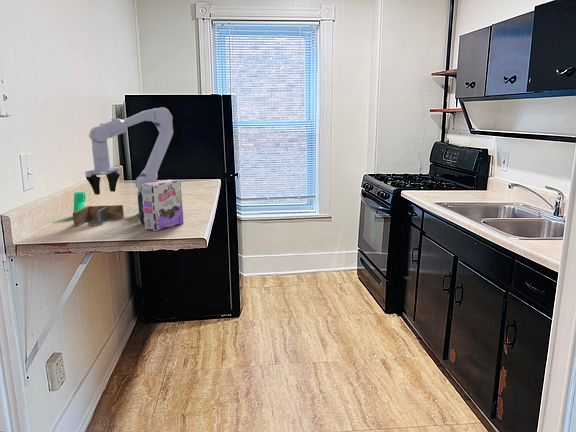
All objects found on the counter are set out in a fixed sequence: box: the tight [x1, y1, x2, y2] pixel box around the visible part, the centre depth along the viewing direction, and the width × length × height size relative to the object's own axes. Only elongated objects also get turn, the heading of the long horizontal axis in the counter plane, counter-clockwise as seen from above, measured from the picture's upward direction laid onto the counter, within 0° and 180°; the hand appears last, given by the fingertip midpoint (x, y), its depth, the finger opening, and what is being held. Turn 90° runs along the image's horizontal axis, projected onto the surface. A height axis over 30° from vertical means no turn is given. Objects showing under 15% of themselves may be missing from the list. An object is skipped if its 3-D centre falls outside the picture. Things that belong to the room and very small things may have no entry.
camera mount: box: [72, 191, 87, 214], centre depth 184 cm, size 12×8×10 cm, turn 10°
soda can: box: [137, 191, 144, 226], centre depth 167 cm, size 7×7×12 cm
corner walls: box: [72, 204, 125, 228], centre depth 172 cm, size 14×14×5 cm
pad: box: [87, 219, 111, 226], centre depth 172 cm, size 9×5×1 cm, turn 4°
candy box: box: [141, 179, 184, 232], centre depth 160 cm, size 14×6×16 cm, turn 148°
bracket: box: [87, 207, 110, 226], centre depth 171 cm, size 8×5×5 cm, turn 4°
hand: (105, 192), depth 176 cm, fingers open, 7 cm apart
